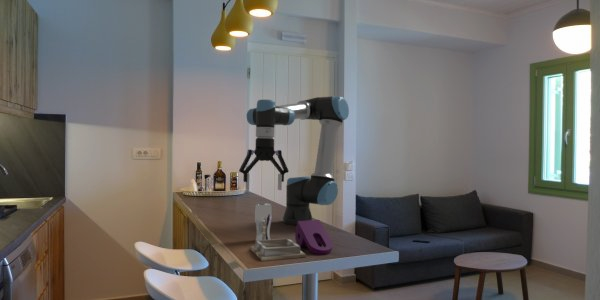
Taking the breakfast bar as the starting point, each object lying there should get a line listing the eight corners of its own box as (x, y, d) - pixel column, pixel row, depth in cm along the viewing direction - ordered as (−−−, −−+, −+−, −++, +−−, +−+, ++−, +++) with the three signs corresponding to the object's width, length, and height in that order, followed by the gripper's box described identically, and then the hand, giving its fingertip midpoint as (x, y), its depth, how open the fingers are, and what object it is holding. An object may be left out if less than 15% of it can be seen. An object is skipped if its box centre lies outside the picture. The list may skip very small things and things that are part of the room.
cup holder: (250, 249, 153) (250, 239, 153) (290, 245, 159) (290, 237, 158) (261, 260, 138) (262, 250, 138) (305, 257, 144) (305, 247, 144)
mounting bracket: (332, 267, 152) (315, 236, 167) (336, 249, 149) (319, 219, 164) (308, 269, 149) (294, 238, 164) (313, 251, 145) (297, 221, 160)
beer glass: (251, 240, 166) (251, 203, 166) (265, 238, 171) (265, 202, 171) (260, 243, 161) (261, 206, 161) (275, 241, 165) (275, 204, 165)
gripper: (236, 136, 157) (235, 191, 157) (296, 138, 166) (295, 190, 166) (232, 137, 164) (231, 189, 164) (290, 138, 173) (289, 188, 173)
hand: (263, 190), depth 165 cm, fingers open, 13 cm apart
